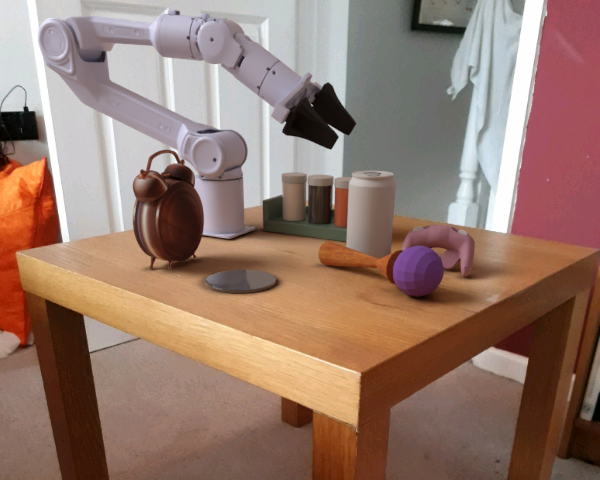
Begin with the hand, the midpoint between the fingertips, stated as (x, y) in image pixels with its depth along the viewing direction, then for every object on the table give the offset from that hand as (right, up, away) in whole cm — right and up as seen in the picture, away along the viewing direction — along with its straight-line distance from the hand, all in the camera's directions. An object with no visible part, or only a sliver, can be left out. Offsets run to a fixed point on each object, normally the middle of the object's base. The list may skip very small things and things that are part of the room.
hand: (344, 136), depth 94 cm
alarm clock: (-24, -20, -5) cm, 32 cm away
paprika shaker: (+1, -10, +10) cm, 14 cm away
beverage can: (+3, -19, -2) cm, 20 cm away
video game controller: (+12, -21, -7) cm, 25 cm away
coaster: (-14, -24, -12) cm, 30 cm away
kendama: (+3, -24, -12) cm, 27 cm away
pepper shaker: (-3, -9, +12) cm, 15 cm away
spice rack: (-3, -11, +13) cm, 17 cm away
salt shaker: (-7, -8, +14) cm, 18 cm away
